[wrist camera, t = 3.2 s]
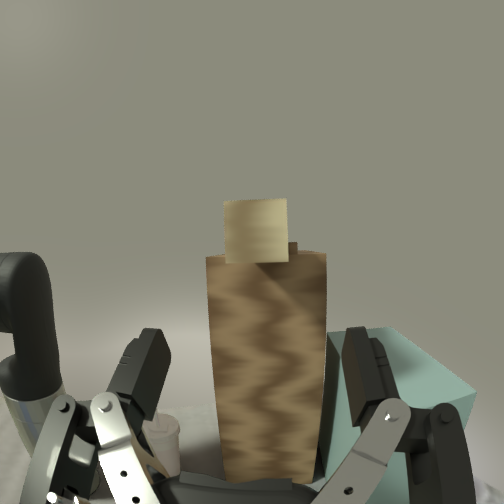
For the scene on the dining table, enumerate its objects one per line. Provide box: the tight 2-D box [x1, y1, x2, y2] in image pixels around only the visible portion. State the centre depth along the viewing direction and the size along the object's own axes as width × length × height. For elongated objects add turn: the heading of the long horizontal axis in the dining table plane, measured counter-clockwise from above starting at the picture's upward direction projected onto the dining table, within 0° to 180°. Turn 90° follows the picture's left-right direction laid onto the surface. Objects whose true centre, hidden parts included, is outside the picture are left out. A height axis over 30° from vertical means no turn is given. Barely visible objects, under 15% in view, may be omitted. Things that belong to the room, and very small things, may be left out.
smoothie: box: [142, 408, 181, 477], centre depth 30 cm, size 6×6×14 cm
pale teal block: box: [319, 327, 477, 504], centre depth 26 cm, size 10×22×20 cm, turn 175°
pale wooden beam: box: [224, 199, 289, 263], centre depth 31 cm, size 4×32×4 cm, turn 175°
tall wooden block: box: [206, 242, 327, 484], centre depth 38 cm, size 12×20×33 cm, turn 175°
